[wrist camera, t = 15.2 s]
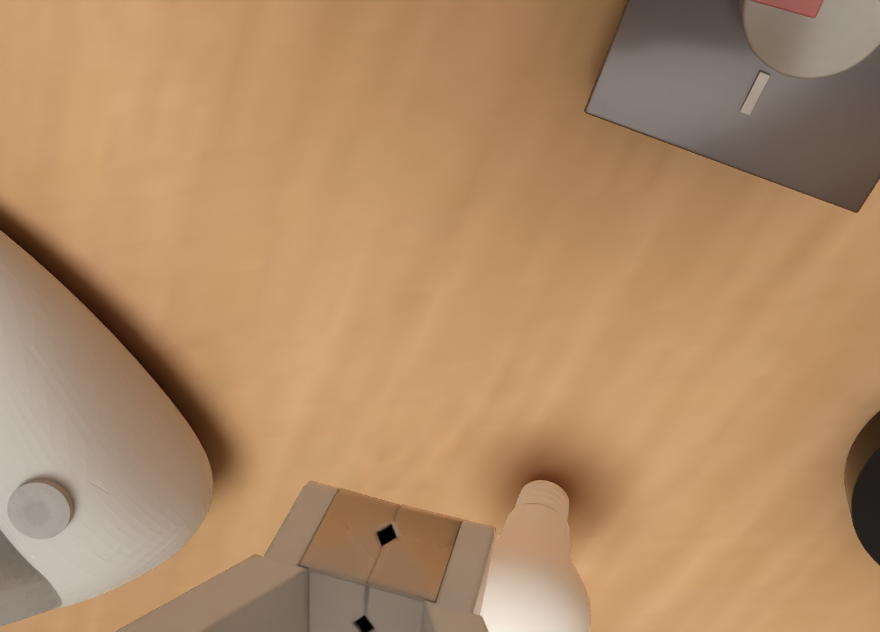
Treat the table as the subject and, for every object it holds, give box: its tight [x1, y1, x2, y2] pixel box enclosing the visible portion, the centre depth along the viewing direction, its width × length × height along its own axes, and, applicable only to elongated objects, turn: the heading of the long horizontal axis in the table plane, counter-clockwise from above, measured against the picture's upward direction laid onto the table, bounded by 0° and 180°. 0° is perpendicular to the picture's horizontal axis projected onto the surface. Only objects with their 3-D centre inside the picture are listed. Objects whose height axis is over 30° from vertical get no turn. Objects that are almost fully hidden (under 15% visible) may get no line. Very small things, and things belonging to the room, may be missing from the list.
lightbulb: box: [480, 480, 591, 632], centre depth 37 cm, size 6×6×11 cm
